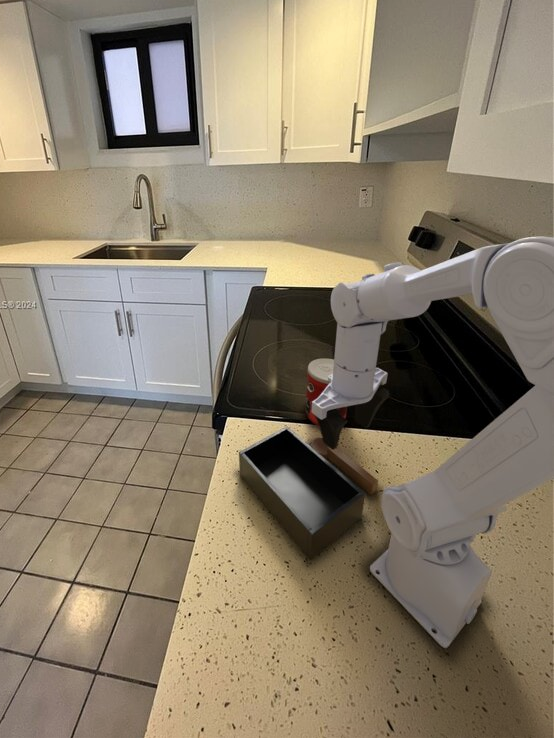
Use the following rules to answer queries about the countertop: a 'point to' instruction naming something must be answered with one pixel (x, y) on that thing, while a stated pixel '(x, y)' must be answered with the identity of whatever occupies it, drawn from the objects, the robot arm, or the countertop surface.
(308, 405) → the canned food
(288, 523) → the tin
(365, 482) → the tan long slender bar
